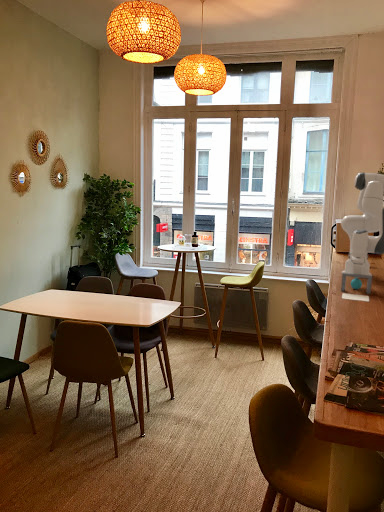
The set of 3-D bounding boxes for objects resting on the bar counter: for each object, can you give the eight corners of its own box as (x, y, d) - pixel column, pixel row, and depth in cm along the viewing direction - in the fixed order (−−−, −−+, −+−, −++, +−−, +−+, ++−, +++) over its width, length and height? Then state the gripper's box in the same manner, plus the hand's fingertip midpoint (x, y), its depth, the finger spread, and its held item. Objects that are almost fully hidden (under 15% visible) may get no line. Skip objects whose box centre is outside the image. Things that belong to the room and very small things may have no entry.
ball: (351, 275, 257) (350, 284, 254) (362, 276, 256) (362, 285, 252) (350, 282, 262) (349, 290, 258) (361, 283, 260) (361, 292, 256)
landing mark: (342, 293, 244) (342, 293, 244) (368, 296, 240) (368, 295, 240) (341, 298, 232) (341, 298, 232) (369, 301, 228) (369, 301, 228)
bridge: (341, 290, 253) (342, 272, 252) (370, 293, 248) (372, 275, 247) (340, 291, 250) (342, 273, 249) (370, 294, 245) (372, 276, 244)
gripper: (352, 256, 271) (350, 279, 273) (352, 260, 252) (350, 285, 253) (364, 257, 269) (361, 280, 271) (364, 261, 250) (362, 286, 251)
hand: (356, 282), depth 262 cm, fingers closed
